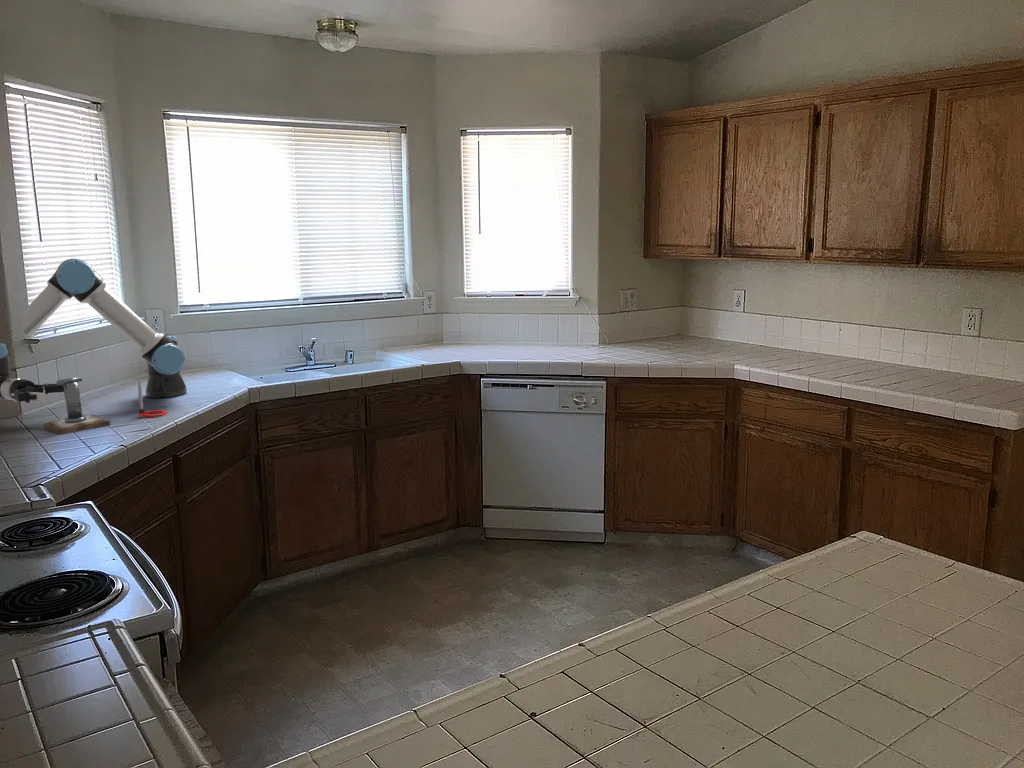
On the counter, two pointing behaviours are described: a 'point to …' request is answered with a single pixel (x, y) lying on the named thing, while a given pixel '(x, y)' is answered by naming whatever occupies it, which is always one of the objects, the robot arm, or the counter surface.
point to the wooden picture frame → (76, 424)
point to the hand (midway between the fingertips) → (63, 393)
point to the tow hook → (141, 409)
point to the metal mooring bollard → (72, 399)
